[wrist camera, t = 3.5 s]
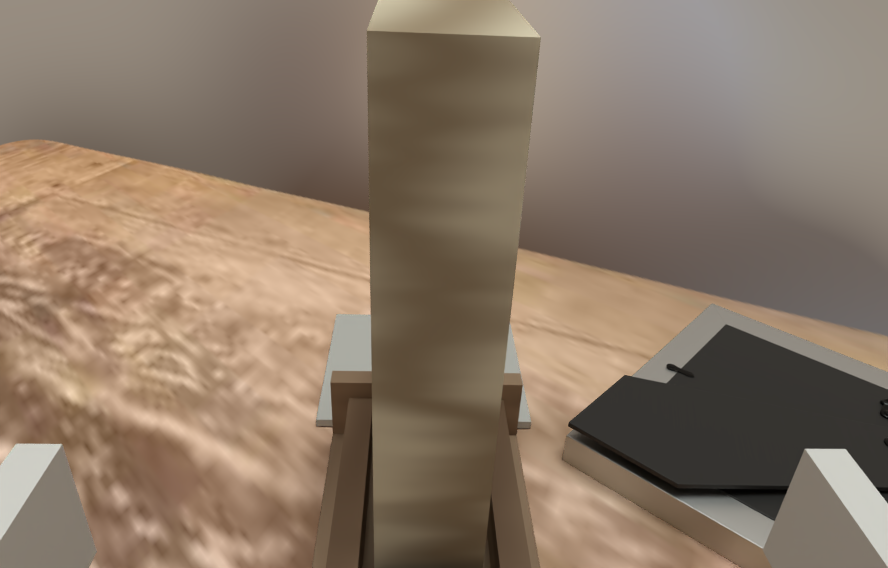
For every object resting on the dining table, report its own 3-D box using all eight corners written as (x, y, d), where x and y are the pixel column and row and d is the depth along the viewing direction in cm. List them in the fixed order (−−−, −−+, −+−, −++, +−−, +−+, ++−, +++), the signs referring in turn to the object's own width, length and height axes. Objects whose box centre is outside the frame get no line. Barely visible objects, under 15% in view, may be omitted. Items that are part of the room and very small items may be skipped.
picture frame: (559, 470, 31) (1183, 853, 19) (568, 422, 29) (1248, 805, 17) (703, 332, 41) (1162, 525, 29) (714, 292, 39) (1202, 478, 28)
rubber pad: (508, 322, 40) (508, 317, 39) (530, 428, 32) (531, 421, 32) (336, 320, 39) (336, 314, 39) (316, 426, 31) (315, 419, 31)
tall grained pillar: (466, 442, 29) (501, -10, 20) (479, 599, 23) (540, 37, 14) (384, 441, 29) (383, -14, 20) (374, 599, 22) (366, 30, 13)
